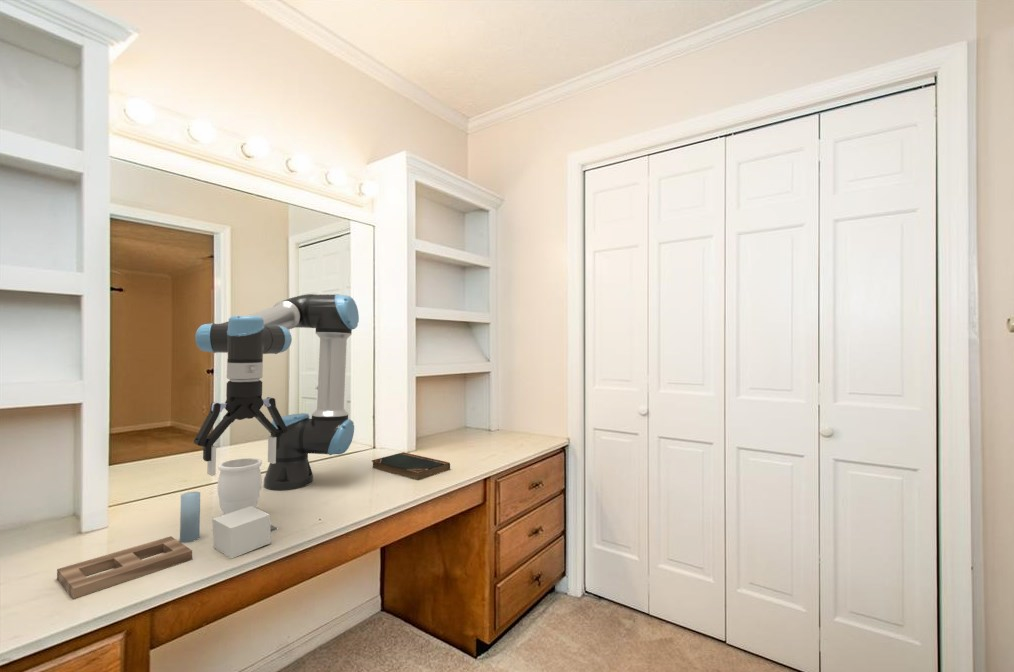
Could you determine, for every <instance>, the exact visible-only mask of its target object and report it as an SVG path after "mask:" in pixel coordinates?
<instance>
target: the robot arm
mask: <svg viewBox="0 0 1014 672" xmlns="http://www.w3.org/2000/svg"><path fill="white" fill-rule="evenodd" d="M359 314H360V313H359V310H358V306H357V304H356V301H355V300H354V297H353V298H352V297H351V295H346V294H336V293H335V294H313V293H309V294H308V293H307V294H302V295H297V296H294V297H293V296H292V297H290V298H286V299H283V300H280V301H278V302H276V303H275V304H274V305H273V306H272V307H270V308H269V307H268V308H266V309H263V310H259V311H256V312H254V313H251V314H248V315H232V316H230V317H229V319H228V321H226V322H222V323H213V322H212V323H205V324H201V325H200V326H199V327H198V328H197V330H196V332H195V336H194V337H195V344H196V346H197V348H198V349H199V350H200V351H202V352H204V353H213V354H218V353H220V354H221V353H222V354H223V353H225V354H226V353H227V360H226V361H227V363H226V379H227V380H228V381H227V382H226V389H225V390H226V394H225V396H226V400H225V402H216V401H212V402H211V403H210V406H209V412H208V415H207V416H206V418H205V419H204V421H203V423H202V425H201V427H200V428H199V431H198V433H197V434H196V436H195V439H194V440H193V444H194V445H196V446H199V447H203V449H202V450H203V451H202V455H203V456H202V459H203V461H204V462H207V468H206V469H207V473H206V474H207V475H208V476H211V477H214V476H216V474H217V473H216V472H217V471H216V470H217V469H216V467H217V464H216V463H217V446H215V443H216V442H217V440H218V439H219V438H220V437H221V436H222V435H223V434H224V433H225V431H226V430H227V429H228V427H230V425H231V424H232V423H234V422H235V421H236V420H238V421H242V420H245V419H253V418H255V419H256V420H257V421H258V422H259V423H260V424H261V425H262V426H263V427H264V428H265V429H266V430H267V431H268V432H269V433H270V435H268V437H267V463H269V464H268V467H267V469H266V471H265V472H266V473H265V475H264V479H263V487H264V488H265V489H268V490H273V491H287V490H295V489H299V488H303V487H307V486H309V485H310V484H312V483H313V482H314V474H313V470H312V468H311V465H310V461H309V454H311V455H313V454H314V455H316V454H317V455H329V456H333V455H342V454H344V453H345V452H347V451H348V449H349V448H350V446H351V444H352V442H353V439H354V434H355V425H354V421H353V420H351V419H349V412H347V411H346V410H345V391H346V390H345V387H346V364H347V346H348V345H347V344H348V343H347V341H348V339H349V338H350V336H352V333H353V332H352V331H353V330H356V328H357V327H358V325H359V324H358V323H359V321H360V318H359ZM297 328H299V329H300V328H301V329H302V328H304V329H305V328H306V329H315V334H316V335H317V336H318V338H319V358H318V374H317V375H318V376H317V377H318V380H317V398H316V399H317V401H316V402H317V403H316V409H315V411H314V412H312V413H311V418H310V414H309V413H304V412H301V413H293V414H287V415H281V414H280V412H279V410H278V408H277V405H276V404H277V402H276V398H274V397H271V396H270V397H269V396H268V397H266V398H264V399H263V397H262V396H263V381H262V380H261V379H262V378H263V372H264V371H263V370H264V369H263V367H264V366H263V365H264V364H263V363H264V361H263V360H264V355H268V354H269V355H271V354H273V355H277V354H279V353H280V354H281V353H284V352H285V351H288V349H289V348H290V346H291V345H292V340H293V338H292V334H291V332H290V330H292V329H297ZM263 406H264V407H266V409H267V411H268V413H269V415H270V417H271V419H272V421H270V420H269V419H268V418H267V417H266V415H265V414H264V413H263V412H262V411H261V409H262V407H263ZM224 409H225V410H226V411H227V412H226V413H225V414H224V416H223V417H222V419H221V420H220V421H219V422H218V424H217V425H216V426H215V428H214V429H213V426H214V425H215V423H216V422H217V420H218V418H219V415H220V413H222V412H223V410H224Z"/></svg>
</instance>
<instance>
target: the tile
mask: <svg viewBox="0 0 1014 672" xmlns="http://www.w3.org/2000/svg"><path fill="white" fill-rule="evenodd" d="M270 530H271V532H273V531H275V530H278V528H277V527H276V526H274V525H272V524H270Z"/></svg>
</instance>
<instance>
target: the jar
mask: <svg viewBox="0 0 1014 672" xmlns="http://www.w3.org/2000/svg"><path fill="white" fill-rule="evenodd" d="M262 462H263V461H262V459H259V458H253V457H252V458H238V459H230V460H227V461H223V462H221V463H220V464H218V467H217V468H218V471H220V472H219V476H218V480H217V496H218V502H219V507H220V510H221V511H222V513H223V514H222V515H225V514H228V513H231V512H235V511H238V510H241V509H244V508H247V507H250V506H253V507H255V508H257V505H258V503H259V500H260V499H259V498H260V493H261V490H262V483H263V482H262V480H263V479H262V472H261V471H262V470H261V468H260V467H261V466H262V464H263V463H262Z"/></svg>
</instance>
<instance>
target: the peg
mask: <svg viewBox="0 0 1014 672" xmlns="http://www.w3.org/2000/svg"><path fill="white" fill-rule="evenodd" d="M179 520H180V521H179V522H180V523H179V542H180V541H181V542H180V543H191V542H195V541H196V540H199V539H200V531H201V530H200V527H201V526H200V525H201V492H200V491H189V492H185V493H182V494H180V517H179ZM198 538H199V539H198ZM194 540H195V541H194Z"/></svg>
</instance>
